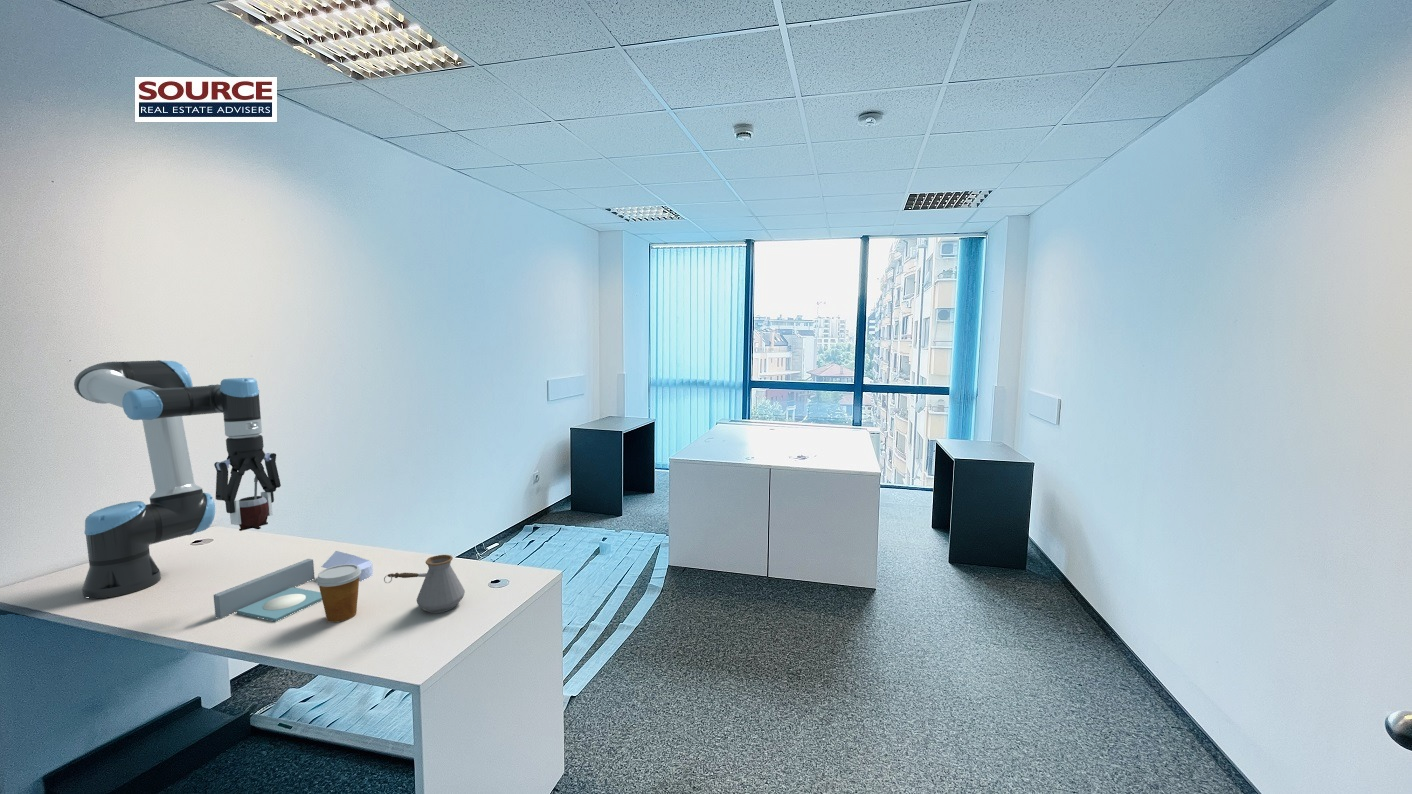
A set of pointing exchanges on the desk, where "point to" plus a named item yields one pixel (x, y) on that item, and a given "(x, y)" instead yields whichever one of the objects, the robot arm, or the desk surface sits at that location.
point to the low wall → (262, 587)
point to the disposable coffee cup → (339, 591)
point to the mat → (282, 604)
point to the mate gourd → (253, 511)
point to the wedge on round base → (345, 558)
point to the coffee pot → (437, 585)
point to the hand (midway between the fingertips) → (252, 519)
